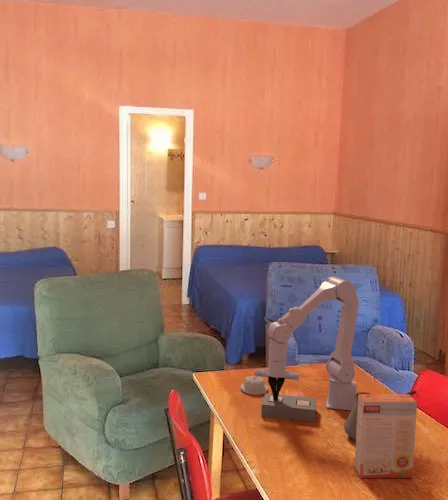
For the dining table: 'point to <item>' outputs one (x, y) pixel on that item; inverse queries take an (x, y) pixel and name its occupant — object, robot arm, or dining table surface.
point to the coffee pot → (351, 421)
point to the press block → (289, 408)
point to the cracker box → (385, 435)
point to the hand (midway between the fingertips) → (275, 399)
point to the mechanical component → (254, 385)
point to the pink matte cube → (303, 402)
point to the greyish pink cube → (275, 400)
